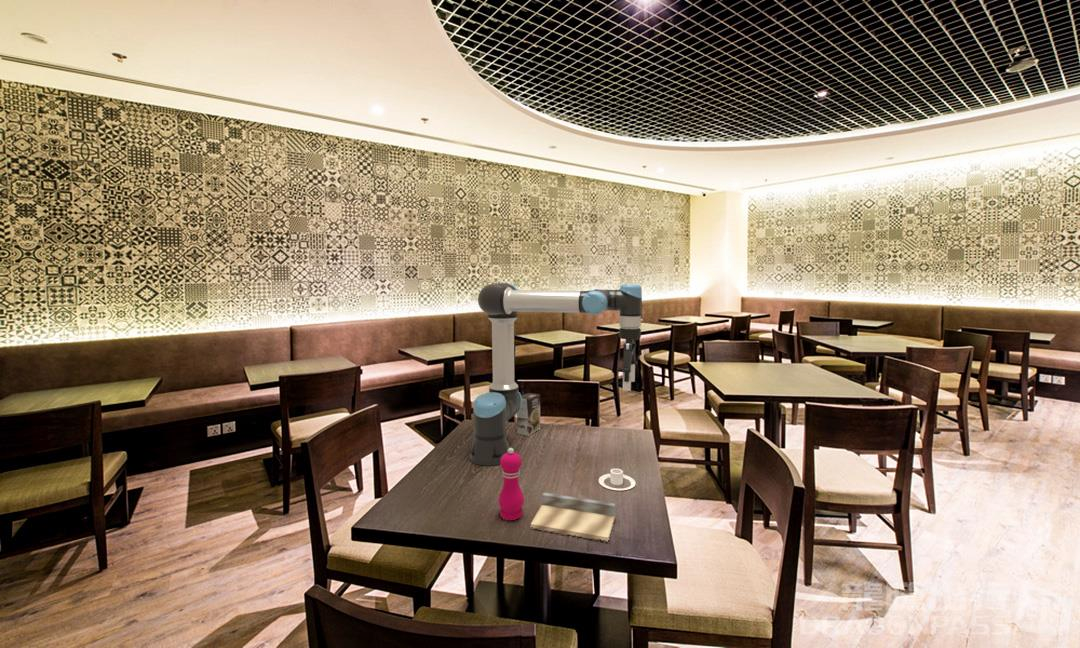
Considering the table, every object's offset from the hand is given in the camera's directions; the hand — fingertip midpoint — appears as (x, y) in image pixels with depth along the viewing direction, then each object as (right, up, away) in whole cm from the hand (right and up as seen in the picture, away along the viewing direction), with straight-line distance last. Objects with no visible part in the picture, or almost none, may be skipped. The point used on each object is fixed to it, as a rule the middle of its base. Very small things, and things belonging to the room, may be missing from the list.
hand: (628, 385), depth 162 cm
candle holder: (-7, -31, -15) cm, 35 cm away
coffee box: (-37, -25, +32) cm, 55 cm away
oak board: (-23, -33, -39) cm, 56 cm away
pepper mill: (-40, -33, -34) cm, 62 cm away
